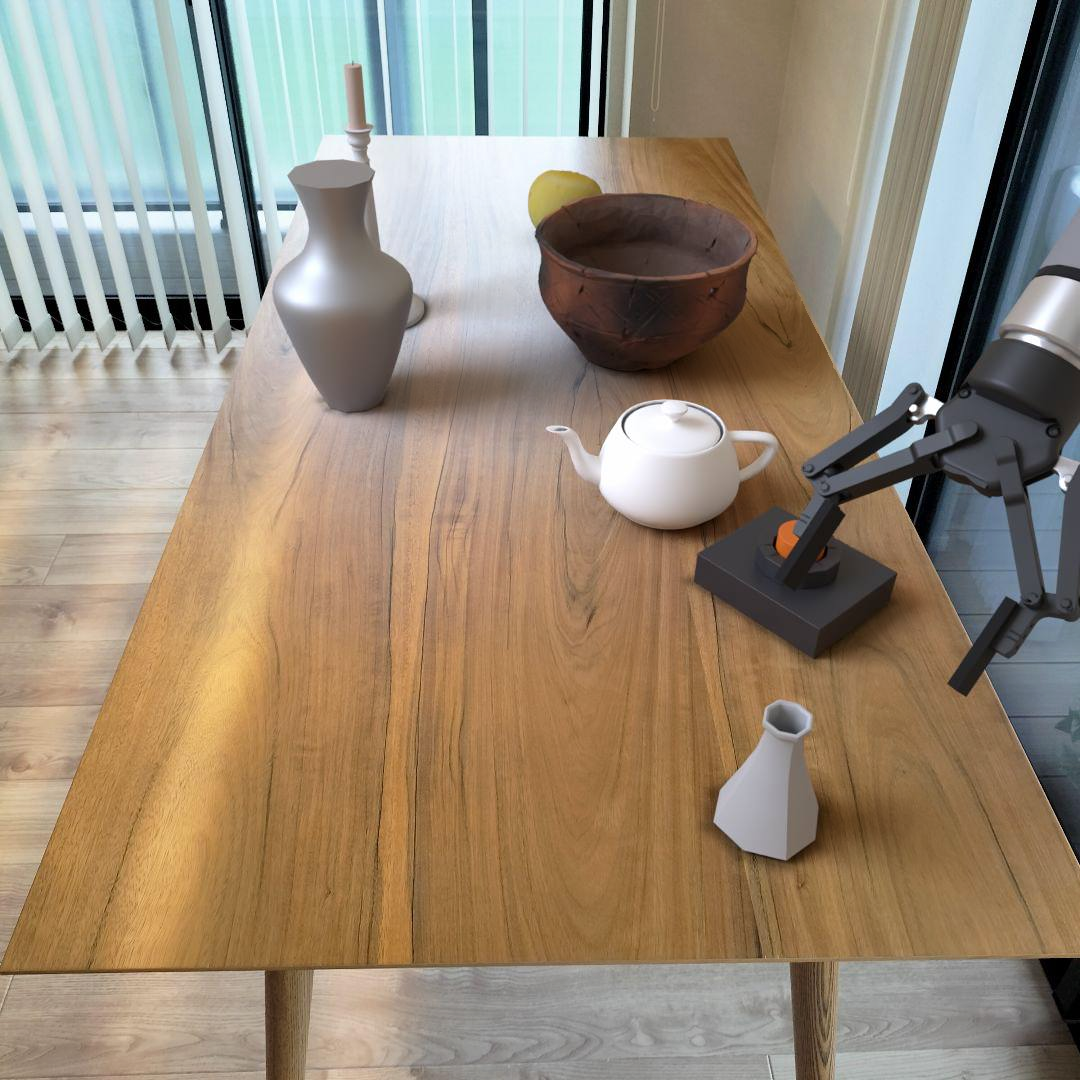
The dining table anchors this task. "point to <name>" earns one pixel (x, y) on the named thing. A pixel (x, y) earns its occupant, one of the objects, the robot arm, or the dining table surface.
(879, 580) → the button box
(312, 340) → the vase
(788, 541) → the power button
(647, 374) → the dining table surface
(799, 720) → the flask
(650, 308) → the bowl
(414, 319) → the candlestick
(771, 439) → the teapot
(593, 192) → the fruit
